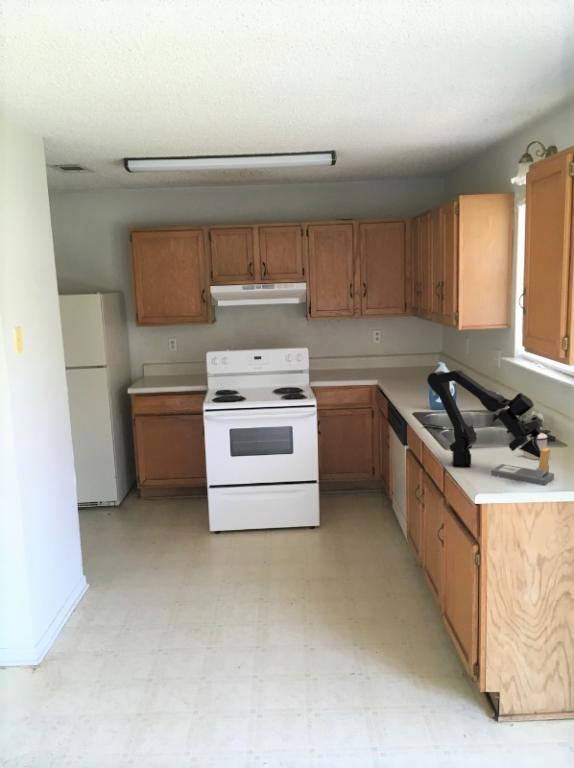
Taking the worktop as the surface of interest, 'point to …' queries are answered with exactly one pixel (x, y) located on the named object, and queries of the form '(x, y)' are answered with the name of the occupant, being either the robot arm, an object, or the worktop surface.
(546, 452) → the orange lever
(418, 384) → the worktop surface
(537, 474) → the switch panel
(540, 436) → the teacup with lid
